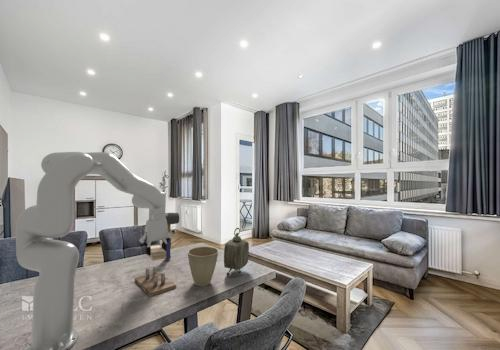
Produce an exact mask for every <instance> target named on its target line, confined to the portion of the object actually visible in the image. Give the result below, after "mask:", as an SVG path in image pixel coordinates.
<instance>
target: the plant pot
mask: <svg viewBox="0 0 500 350" xmlns="http://www.w3.org/2000/svg"><path fill="white" fill-rule="evenodd" d="M218 254H219V249H218V248H216V247H212V246H198V247H193V248H190V249H189V250H188V251H187V256H188V265H189V269H190V273H191V277H192V279H193V280H192V281H193V283H194V285H196V286H198V287H205V286H208V285H209V284H210V283H211V281H212V278H213V275H214V272H215V268H216V265H217V260H218Z"/></svg>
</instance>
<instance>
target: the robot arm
mask: <svg viewBox="0 0 500 350" xmlns="http://www.w3.org/2000/svg"><path fill="white" fill-rule="evenodd" d="M40 165H41V166H40V167H41V169H42V172H44V173H45V174H44V175H43V177H42V178H41V179H40V181H39V184H38V186H37V192H36V205H32V206H29V207H27V208H26V209H24V210H23V211H22V212H20V214H19V216H18V217H17V219H16V223H15V250H16V251H15V252H16V253H15V254H16V260H17V263H18V264H19V265H20V266H21V267H22V268H24V269H25V270H26V269H27V270H29V271H34V272H38V273H39V275H38V277H37V280H36V282H35V284H34V288H33V294H32V295H33V297H32V319H31V321H32V322H31V342H30V343H29V344H27V345H26V346H25V347H24V350H67V349H68V350H70V349H71V348H72V347H73V346H74V345H75V344H76V343H77V342H78V339H79V332H78V330H76V329H73V327H74V303H75V302H74V301H75V282H76V281H75V280H76V279H75V278H76V273H77V272H76V271H77V268H78V264H79V260H80V251H79V249H78V248H77V246H76V245H75V244H74V243H72V242H69V241H64V240H59V239H57V238H63V237H65V236H67V235H68V234H70V232H71V231H72V229H73V225H74V192H75V189H76V187H77V185H78V184H79V182H80V181H81V180H83V179H84V178H85V177H86V176H88V175H99V176H101V178H103V179H105V180H106V181H107V182H108V183H109V184H110V185H111V186H113V187H114V188H115V189H116V190H117V191H120V192H123V193H124V194H130V195H133V196H132V197H131V203H132V205H133V206H134V207H136V208H139V209H148V219H147V220H146V222H145V227H144V234H143V235H142V236H141V237H140V238H139V239H138V241H139V242H140V243H141V244H142V245H143V246H145V254H146V255H147V256H148V257H150V254H151V247H150V246H151V244H152V242H155V241H161V242H162V243H161V247H162V248H163V249H164V250H166V244H167V242H168V241H169V240H170V238H171V239H172V237H173V234H172V233H171V231H170V232H168V226H167V220H166V219H165V218H166V216H168V214H166V213H167V212H166V202H167V201H166V200H167V199H166V198H167V195H166V194H167V193H166V192H164V191H161V190H159V189H158V188H157V187H156V186H155V185H153V184H152V183H150V182H149V181H147V180H146V179H143V178H141V177H139V176H137V175H136V174H134V173H133V172H131V170H130V169H129V168H128V167H127V166H126V165H125V164H124V163H123V162H122V161H121V160H119V158H117V157H116V156H115V155H114V154H112V153H111V152H107V151H103V152H101V151H99V152H98V151H97V152H80V151H65V152H60V151H58V152H51V153H48V154H47V155H45V156H44V157H43V158H42V161H41V162H40ZM54 238H55V239H54ZM145 240H146V241H145ZM70 347H71V348H70Z"/></svg>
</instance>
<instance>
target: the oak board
mask: <svg viewBox="0 0 500 350" xmlns="http://www.w3.org/2000/svg"><path fill="white" fill-rule="evenodd" d="M150 247H151V254H150V256H149V257H150V259H151V261H152V262H153V261H159V260H163V259H164V260H165V258H166V251H165V250H164V249H163V248H162V245H160V244H154V245H150Z"/></svg>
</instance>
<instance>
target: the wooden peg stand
mask: <svg viewBox="0 0 500 350" xmlns="http://www.w3.org/2000/svg"><path fill="white" fill-rule="evenodd" d="M150 270H151V269H150V268H148V267H147V268H145V275H141V276H138V277H135V278H134V282H135V283H136V284H137V285H138V286H139V287H140V288H141V289H142V290H143V291H144V292H145V293H146V294H147V295H148V296H149V297H152V296H155V295H158V294H161V293H164V292H167V291H171V290H174V289H177V284H176V283H175V282H173V281H172V280H170V279H169V278H168V277H166V272H160V271H158V267H157V266H153V267H152V273H150Z"/></svg>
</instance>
